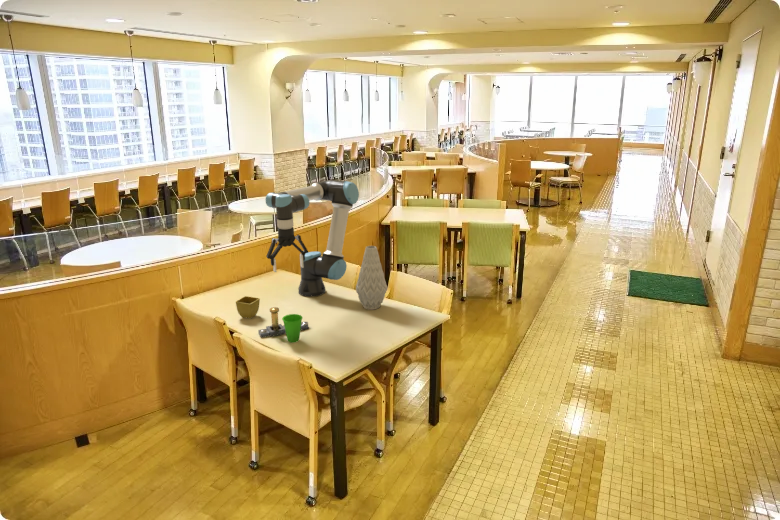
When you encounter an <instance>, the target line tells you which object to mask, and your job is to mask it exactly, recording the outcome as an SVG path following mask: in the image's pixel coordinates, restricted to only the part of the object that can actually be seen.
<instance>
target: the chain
mask: <svg viewBox="0 0 780 520" xmlns="http://www.w3.org/2000/svg"><path fill="white" fill-rule="evenodd" d="M278 324H279V323H278ZM265 327H266V328H262V329H258V331H257V332H258V335H259V337H260V338H267V337H270V338H272V337H276V336H277V337H278V336H282V335H286V331H285V326H284V324H283V325H282V323H280V324H279V329H278V330H272V325H268V326H267V325H266V326H265ZM303 330H309V322H308V321H301V330H300V331H303Z"/></svg>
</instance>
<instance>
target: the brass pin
mask: <svg viewBox="0 0 780 520" xmlns="http://www.w3.org/2000/svg"><path fill="white" fill-rule="evenodd" d="M269 312H270V313H271V314H270V316H271V326H272V330H278V329H279V312H280V307H276V306H274V307H271V308H269Z"/></svg>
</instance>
